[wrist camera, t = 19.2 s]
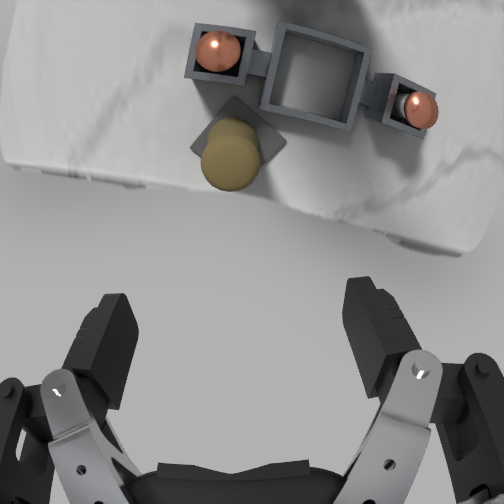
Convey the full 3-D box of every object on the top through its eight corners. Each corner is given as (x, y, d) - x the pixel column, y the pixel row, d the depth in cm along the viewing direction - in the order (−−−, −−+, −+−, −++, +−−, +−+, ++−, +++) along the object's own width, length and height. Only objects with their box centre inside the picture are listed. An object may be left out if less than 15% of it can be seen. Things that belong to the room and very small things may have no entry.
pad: (190, 147, 35) (189, 148, 34) (233, 96, 32) (233, 96, 31) (241, 186, 38) (241, 188, 37) (285, 139, 35) (286, 140, 34)
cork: (263, 160, 35) (273, 192, 26) (214, 172, 36) (205, 208, 27) (252, 111, 32) (257, 125, 23) (200, 124, 33) (184, 143, 23)
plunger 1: (196, 59, 28) (185, 54, 22) (220, 33, 27) (215, 22, 21) (223, 80, 30) (219, 79, 24) (247, 54, 28) (250, 48, 22)
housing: (188, 96, 31) (180, 99, 27) (205, 13, 26) (200, 3, 22) (399, 146, 35) (417, 157, 31) (418, 74, 30) (440, 76, 25)
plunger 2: (373, 101, 31) (401, 108, 25) (394, 81, 30) (424, 85, 24) (393, 124, 33) (422, 136, 27) (412, 105, 31) (444, 114, 25)
